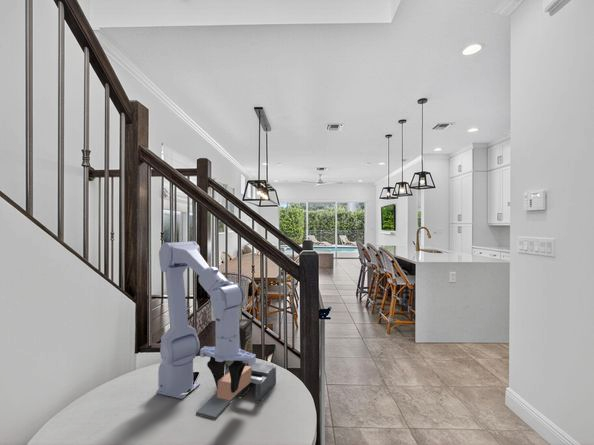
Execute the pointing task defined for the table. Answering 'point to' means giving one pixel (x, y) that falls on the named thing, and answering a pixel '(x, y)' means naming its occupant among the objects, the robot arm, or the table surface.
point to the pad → (214, 407)
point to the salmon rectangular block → (225, 384)
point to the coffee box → (243, 339)
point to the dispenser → (261, 380)
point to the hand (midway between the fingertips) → (227, 388)
